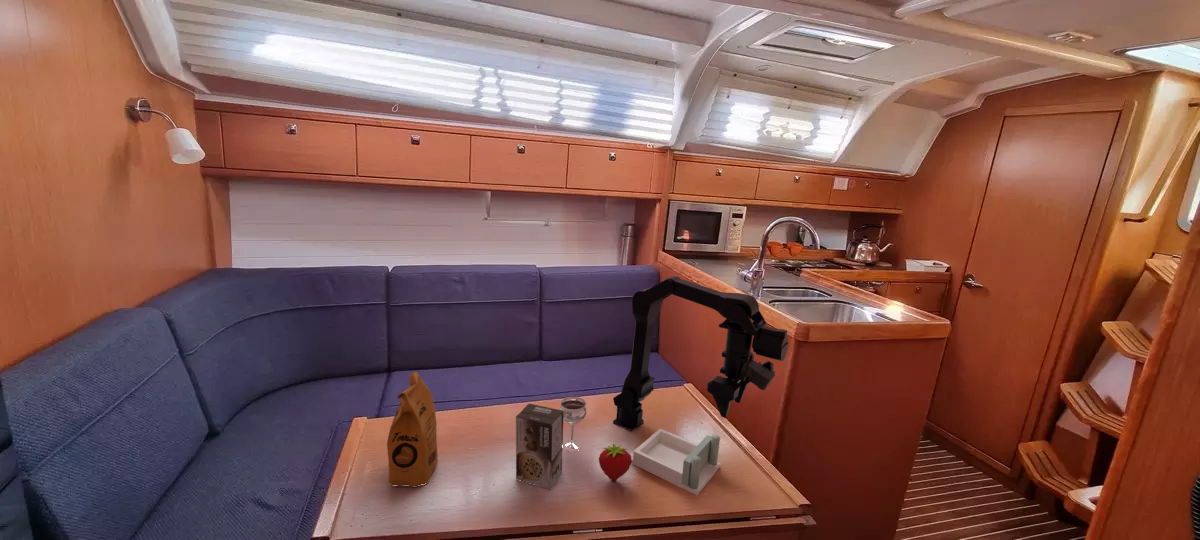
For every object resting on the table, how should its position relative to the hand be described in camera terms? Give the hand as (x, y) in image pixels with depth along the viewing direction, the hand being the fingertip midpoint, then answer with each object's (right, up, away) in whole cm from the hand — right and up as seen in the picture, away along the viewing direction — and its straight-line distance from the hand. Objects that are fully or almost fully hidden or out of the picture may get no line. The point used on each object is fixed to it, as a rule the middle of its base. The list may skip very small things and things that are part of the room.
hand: (730, 409), depth 108 cm
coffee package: (-74, -13, -5) cm, 75 cm away
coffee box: (-46, -14, -5) cm, 48 cm away
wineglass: (-39, -12, +7) cm, 41 cm away
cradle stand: (-13, -14, +2) cm, 19 cm away
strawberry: (-28, -15, -5) cm, 32 cm away
